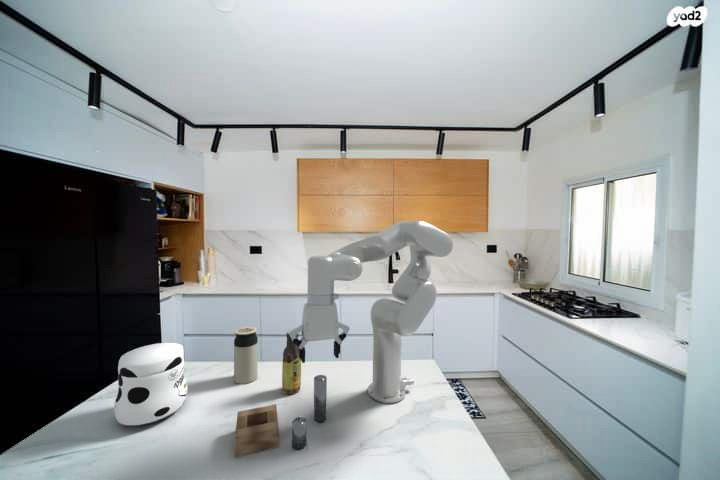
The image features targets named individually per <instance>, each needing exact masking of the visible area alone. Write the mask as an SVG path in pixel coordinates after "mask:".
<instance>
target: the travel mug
mask: <svg viewBox="0 0 720 480" xmlns="http://www.w3.org/2000/svg"><path fill="white" fill-rule="evenodd" d="M257 331H258V330H257V328H256V327H254V326H244V327H239V328H238V329H235V330H234V334H235V337H234V340H233V381H234V382H235V383H237V384H242V385H243V384H248V383H252V382H253V381H255V380H256V379H257V378H258V357H259V356H258V354H259V353H258V349H259V348H258V345H259V344H258V335H257V334H256V333H257Z"/></svg>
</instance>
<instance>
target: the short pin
mask: <svg viewBox="0 0 720 480" xmlns="http://www.w3.org/2000/svg"><path fill="white" fill-rule="evenodd" d="M291 422H292V423H291V424H292V425H291V448H292V449H293V451H294V450H295V451H302V450H304V449H305V448H306V447H307V443H308V442H307V439H308V437H307V436H308V435H307V434H308V433H307V431H308V429H307V428H308V426H307V425H308V423H307V422H308V421H307V418H306V417H304V416H298V417H295V418H293V419H292V421H291Z"/></svg>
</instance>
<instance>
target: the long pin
mask: <svg viewBox="0 0 720 480" xmlns="http://www.w3.org/2000/svg"><path fill="white" fill-rule="evenodd" d="M327 380H328V379H327V376H326V375H325V374H318V375H316V376H314V378H313V422H314V423H316V424H323V423H325V422H326V421H327V387H328V385H327V383H328V382H327Z"/></svg>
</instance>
